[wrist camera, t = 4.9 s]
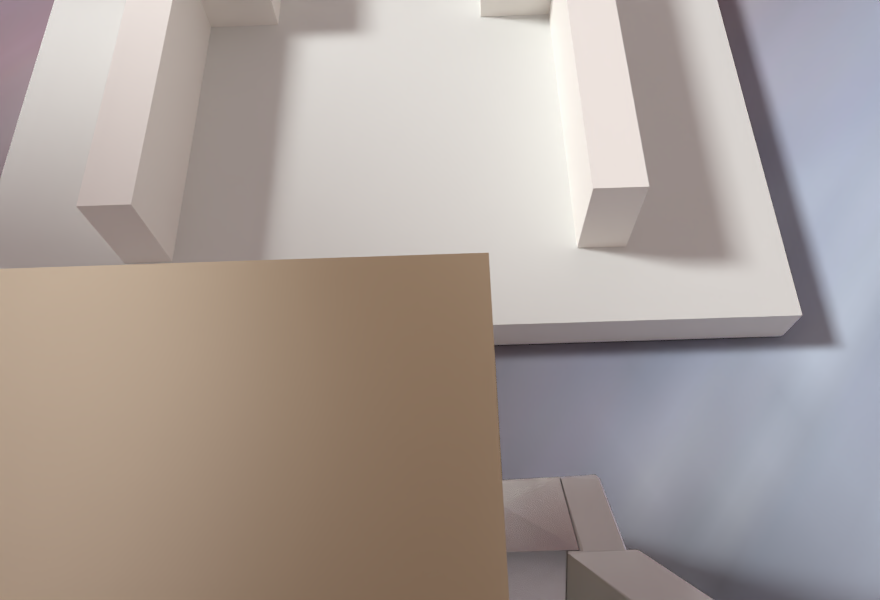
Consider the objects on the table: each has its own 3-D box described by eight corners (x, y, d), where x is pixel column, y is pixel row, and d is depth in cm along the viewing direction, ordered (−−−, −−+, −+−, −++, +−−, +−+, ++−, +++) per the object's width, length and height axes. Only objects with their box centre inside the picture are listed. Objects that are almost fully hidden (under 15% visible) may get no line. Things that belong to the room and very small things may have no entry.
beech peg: (256, 736, 14) (-184, 887, 5) (275, 504, 16) (-5, 268, 7) (483, 730, 14) (526, 873, 5) (474, 499, 16) (489, 252, 7)
